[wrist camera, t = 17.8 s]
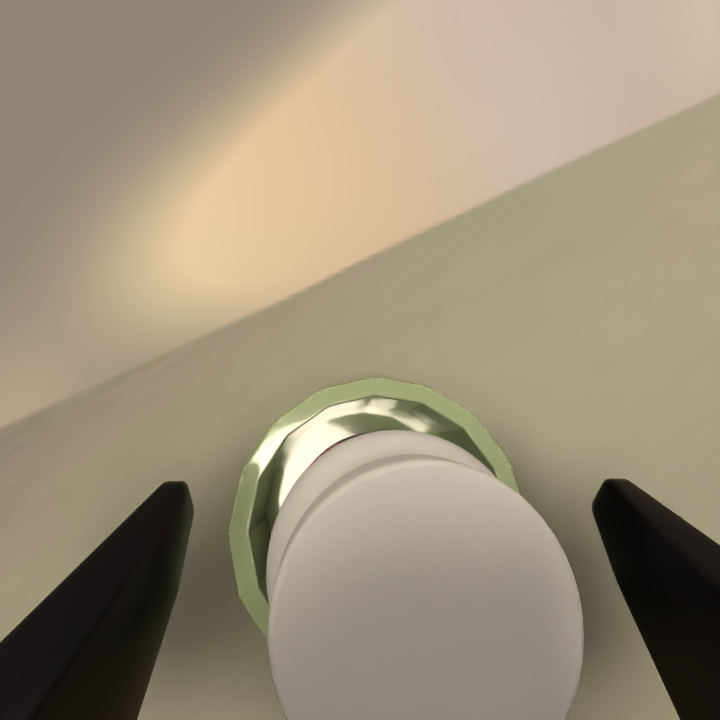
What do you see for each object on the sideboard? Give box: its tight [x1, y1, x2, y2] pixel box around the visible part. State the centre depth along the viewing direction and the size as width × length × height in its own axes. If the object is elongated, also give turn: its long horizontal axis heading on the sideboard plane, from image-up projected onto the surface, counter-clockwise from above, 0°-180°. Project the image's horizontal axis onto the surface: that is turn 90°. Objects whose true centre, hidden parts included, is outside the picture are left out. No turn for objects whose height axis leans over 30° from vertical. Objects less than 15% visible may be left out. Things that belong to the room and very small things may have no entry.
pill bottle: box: [266, 429, 584, 720], centre depth 11 cm, size 6×6×10 cm
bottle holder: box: [228, 377, 520, 642], centre depth 14 cm, size 9×9×4 cm
